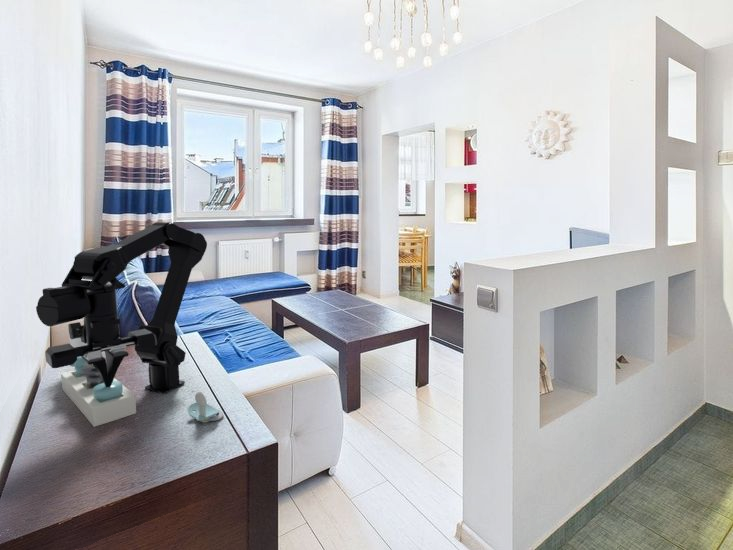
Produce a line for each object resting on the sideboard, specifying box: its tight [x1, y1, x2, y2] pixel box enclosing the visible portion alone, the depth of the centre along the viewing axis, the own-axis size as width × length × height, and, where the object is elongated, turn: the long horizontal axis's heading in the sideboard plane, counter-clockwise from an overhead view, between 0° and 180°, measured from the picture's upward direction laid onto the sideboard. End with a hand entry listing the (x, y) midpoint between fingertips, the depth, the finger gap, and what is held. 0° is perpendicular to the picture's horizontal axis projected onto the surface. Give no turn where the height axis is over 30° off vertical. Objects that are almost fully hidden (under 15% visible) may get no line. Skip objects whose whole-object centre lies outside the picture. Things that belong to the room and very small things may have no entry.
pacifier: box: [187, 390, 224, 423], centre depth 87 cm, size 7×6×6 cm
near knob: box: [93, 380, 123, 403], centre depth 88 cm, size 5×5×5 cm
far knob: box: [69, 356, 87, 377], centre depth 100 cm, size 5×5×5 cm
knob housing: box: [60, 369, 137, 428], centre depth 94 cm, size 25×8×4 cm, turn 47°
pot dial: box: [81, 364, 103, 389], centre depth 94 cm, size 5×5×5 cm
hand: (108, 386), depth 88 cm, fingers closed, pressing on near knob
